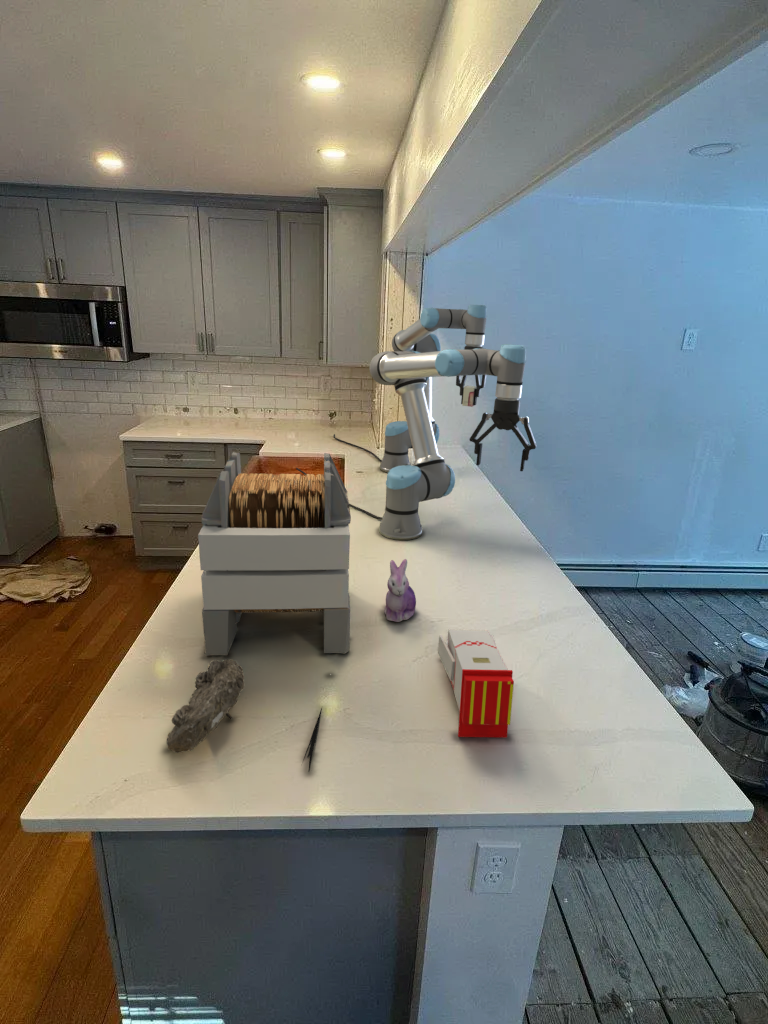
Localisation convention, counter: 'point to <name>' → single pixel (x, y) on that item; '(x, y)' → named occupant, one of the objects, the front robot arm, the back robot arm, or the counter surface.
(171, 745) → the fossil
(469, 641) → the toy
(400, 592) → the figurine
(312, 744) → the feather
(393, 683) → the counter surface
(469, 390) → the small box
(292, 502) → the record storage crate
